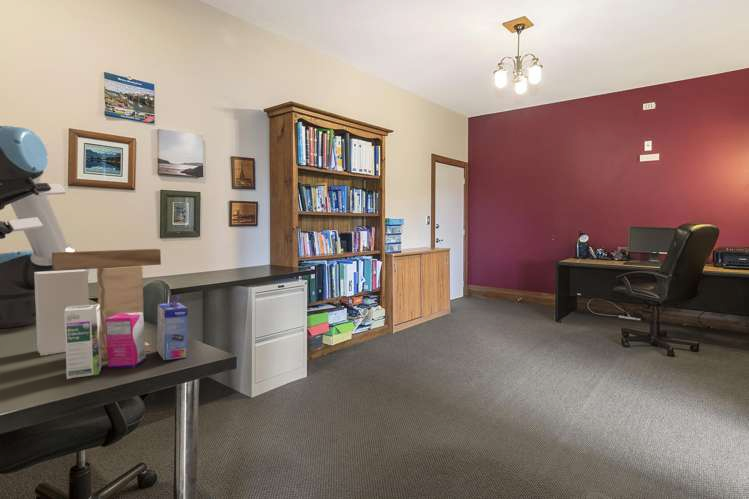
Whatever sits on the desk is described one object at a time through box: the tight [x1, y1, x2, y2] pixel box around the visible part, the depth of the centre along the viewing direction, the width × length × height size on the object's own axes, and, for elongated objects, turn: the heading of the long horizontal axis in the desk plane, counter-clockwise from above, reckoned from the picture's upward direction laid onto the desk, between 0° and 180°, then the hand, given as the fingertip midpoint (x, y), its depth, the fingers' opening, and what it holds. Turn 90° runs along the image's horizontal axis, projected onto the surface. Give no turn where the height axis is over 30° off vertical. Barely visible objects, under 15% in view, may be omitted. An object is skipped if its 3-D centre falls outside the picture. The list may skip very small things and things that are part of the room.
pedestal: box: [34, 269, 90, 357], centre depth 104 cm, size 6×10×20 cm, turn 136°
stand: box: [96, 266, 151, 361], centre depth 103 cm, size 10×10×22 cm
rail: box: [52, 248, 162, 271], centre depth 100 cm, size 4×22×4 cm, turn 136°
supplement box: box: [105, 312, 147, 369], centre depth 93 cm, size 6×6×12 cm
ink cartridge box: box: [156, 294, 189, 361], centre depth 100 cm, size 10×6×14 cm, turn 37°
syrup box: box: [64, 303, 103, 380], centre depth 87 cm, size 6×6×14 cm
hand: (50, 205), depth 102 cm, fingers open, 13 cm apart
